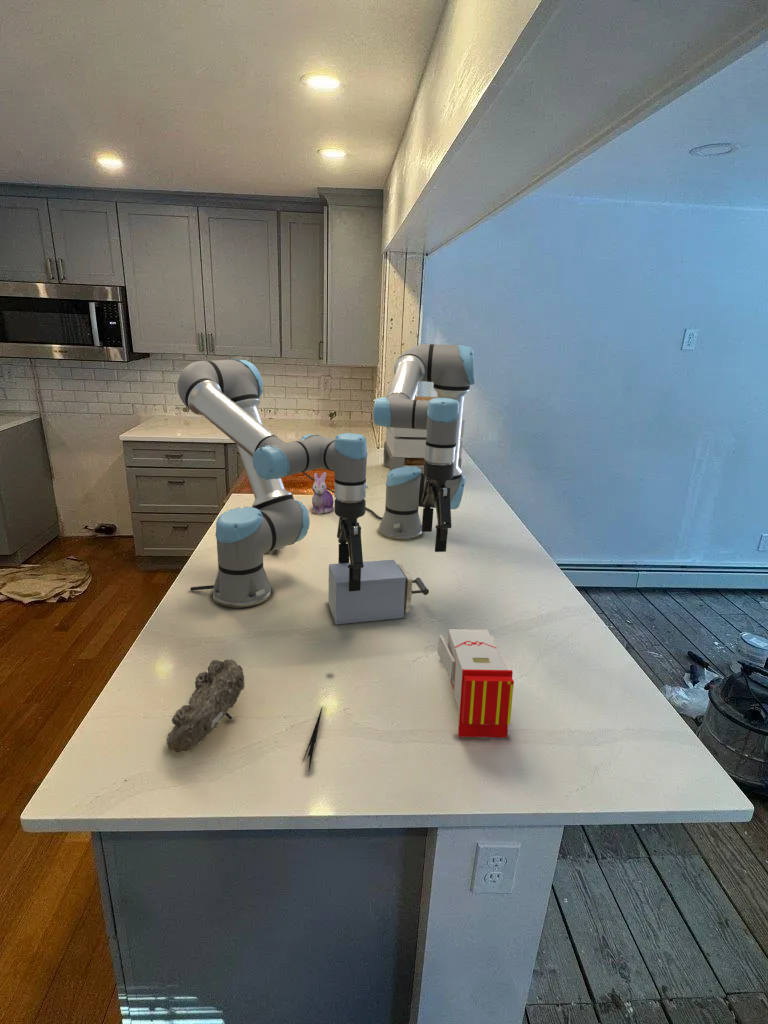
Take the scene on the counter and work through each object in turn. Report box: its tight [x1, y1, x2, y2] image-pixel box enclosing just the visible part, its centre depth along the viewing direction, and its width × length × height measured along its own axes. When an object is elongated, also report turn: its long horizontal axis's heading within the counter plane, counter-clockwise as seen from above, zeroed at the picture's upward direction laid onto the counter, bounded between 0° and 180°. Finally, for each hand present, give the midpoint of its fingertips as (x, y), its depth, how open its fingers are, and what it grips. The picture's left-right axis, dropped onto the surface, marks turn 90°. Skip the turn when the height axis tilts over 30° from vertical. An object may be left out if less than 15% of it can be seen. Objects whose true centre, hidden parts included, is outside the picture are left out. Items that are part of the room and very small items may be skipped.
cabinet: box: [327, 559, 406, 625], centre depth 147 cm, size 18×11×12 cm, turn 105°
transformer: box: [383, 396, 465, 472], centre depth 268 cm, size 34×33×41 cm
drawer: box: [397, 562, 430, 614], centre depth 148 cm, size 22×10×10 cm, turn 105°
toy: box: [437, 628, 515, 738], centre depth 117 cm, size 12×13×30 cm
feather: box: [301, 673, 332, 771], centre depth 108 cm, size 2×28×2 cm
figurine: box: [311, 471, 334, 515], centre depth 216 cm, size 9×10×15 cm
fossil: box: [166, 658, 245, 754], centre depth 106 cm, size 22×10×15 cm
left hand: (348, 578), depth 144 cm, fingers open, 13 cm apart
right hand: (433, 541), depth 148 cm, fingers open, 13 cm apart
